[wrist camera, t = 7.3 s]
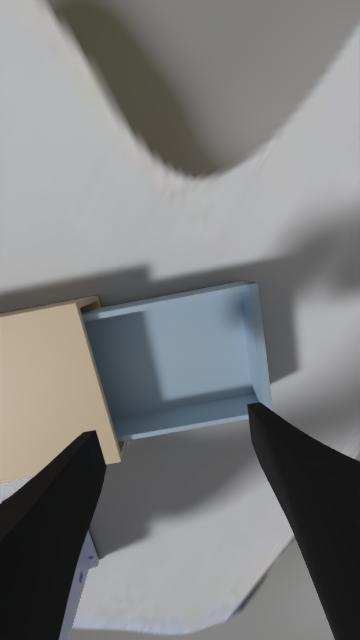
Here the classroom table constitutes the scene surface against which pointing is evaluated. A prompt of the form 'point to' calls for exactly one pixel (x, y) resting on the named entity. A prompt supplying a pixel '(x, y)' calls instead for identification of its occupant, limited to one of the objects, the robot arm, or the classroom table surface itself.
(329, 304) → the classroom table surface
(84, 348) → the sleeve
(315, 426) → the classroom table surface
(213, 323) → the tray
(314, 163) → the classroom table surface
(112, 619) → the classroom table surface
